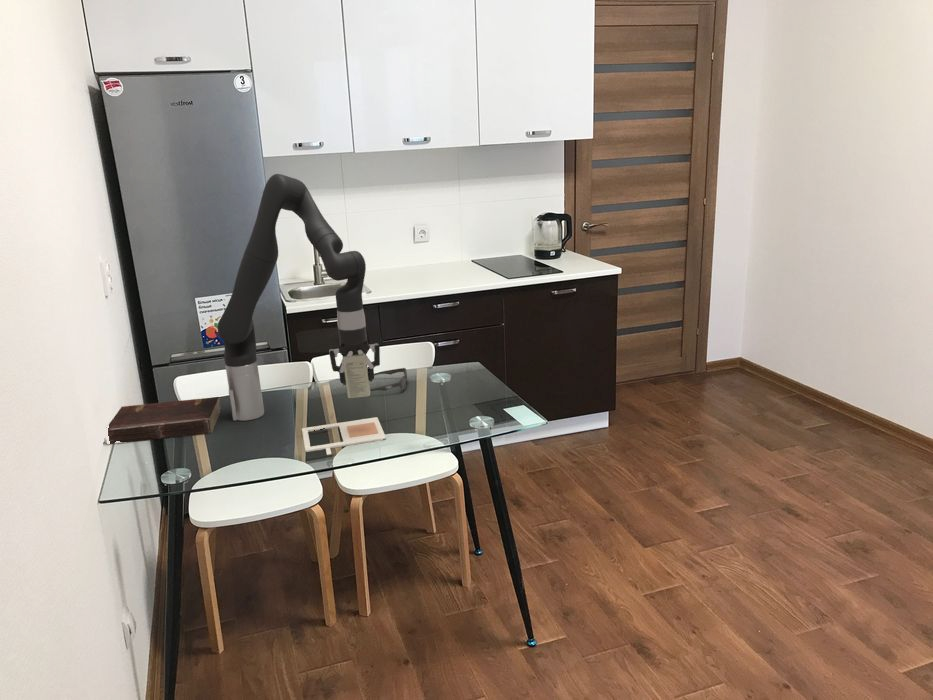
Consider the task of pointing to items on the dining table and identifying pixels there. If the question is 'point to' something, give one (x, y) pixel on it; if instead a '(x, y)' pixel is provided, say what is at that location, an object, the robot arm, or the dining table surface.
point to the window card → (348, 433)
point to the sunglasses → (401, 383)
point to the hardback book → (164, 420)
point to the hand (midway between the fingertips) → (357, 382)
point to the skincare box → (356, 376)
